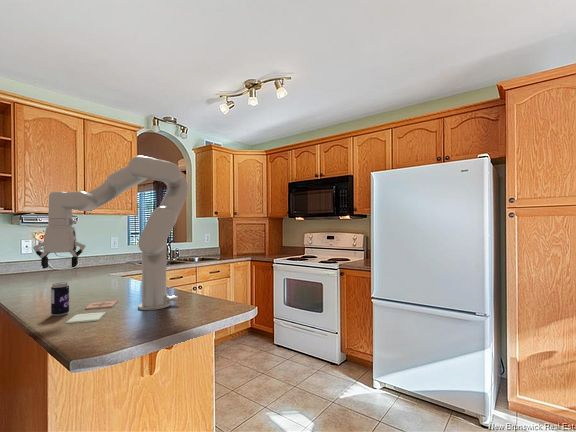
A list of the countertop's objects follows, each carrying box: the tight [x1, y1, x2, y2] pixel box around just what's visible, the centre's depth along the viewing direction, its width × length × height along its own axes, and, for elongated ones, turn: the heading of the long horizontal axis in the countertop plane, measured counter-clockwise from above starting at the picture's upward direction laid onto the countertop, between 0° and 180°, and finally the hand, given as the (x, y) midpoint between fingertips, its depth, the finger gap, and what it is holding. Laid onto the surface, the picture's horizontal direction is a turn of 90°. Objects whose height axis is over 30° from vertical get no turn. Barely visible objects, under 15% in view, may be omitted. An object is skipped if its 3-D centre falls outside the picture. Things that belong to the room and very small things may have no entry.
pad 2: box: [84, 300, 119, 310], centre depth 138 cm, size 10×10×1 cm
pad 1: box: [65, 311, 107, 324], centre depth 119 cm, size 10×10×1 cm
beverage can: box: [50, 281, 70, 317], centre depth 125 cm, size 6×6×12 cm
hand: (59, 267), depth 126 cm, fingers open, 9 cm apart
